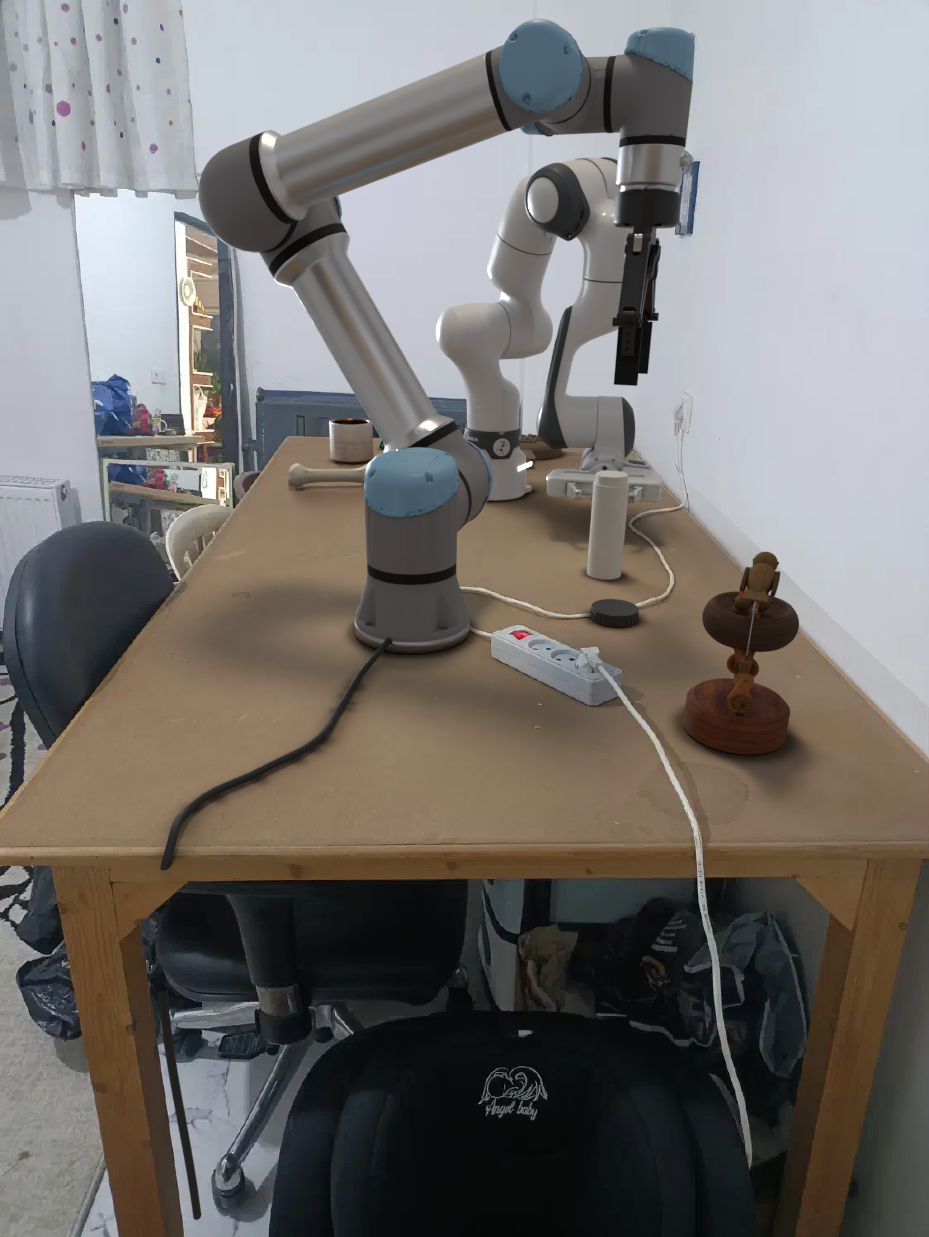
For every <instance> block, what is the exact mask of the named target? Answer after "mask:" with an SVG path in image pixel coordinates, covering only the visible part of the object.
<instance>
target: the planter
mask: <svg viewBox="0 0 929 1237" xmlns="http://www.w3.org/2000/svg"><path fill="white" fill-rule="evenodd" d="M328 424H329V425H328V426H329V453H330V454H329V455H330V456H329V457H330V459H331V460H332V461H333V462H335V463H341V464H363V463H367V462H368V463H369V462H370V461H371V460H372V459H373V458H375V455H374V452H375V451H374V450H375V449H374V430H373V429H374V426H373V424H372V422H371V421H370V419H369V418H362V417H361V418H360V417H342V418H341V417H340V418H335V419H334V418H333V419H331V420H329V421H328Z"/></svg>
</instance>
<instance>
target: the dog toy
mask: <svg viewBox="0 0 929 1237" xmlns="http://www.w3.org/2000/svg"><path fill="white" fill-rule="evenodd" d="M368 464H369V462H368V463H366V464H364V465H363V466H361V467H357V468H323V469H322V468H319V469H318V468H317V469H316V468H308V467H305V466H304V465H302V464H301V463H298V462H297V463H296V462H295V463H294V464H293V463H292V464H291V465H290V467H289V469H288V471H287V472H288V473H287V474H288V476H287V478H286V479H287V483H288V486H289V487H294V488H300V487H302V486H305V485H308V484H316V483H355V484H363V485H364V483H365V471H366V467H367V465H368Z"/></svg>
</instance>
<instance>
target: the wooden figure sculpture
mask: <svg viewBox="0 0 929 1237" xmlns="http://www.w3.org/2000/svg"><path fill="white" fill-rule="evenodd" d="M778 560H779V559H777V556H776V555H775V554H774V553H773V552H770V551H761V552H758V553H757V554H756V555H755V556H754V557H753V558H752V566H751V567H750V566H745V568H744V572H743V574H742V578H741V581H740V585H739V588H738V589H739V590H738V591H737V590H735V591H734V590H733V591H726V592H722V593H718V594H716V595H714V596H712V598H710V599H709V600H708V602H707V603H706V604H705V606H704V608H703V610H702V614H701V615H702V617H701V619H702V620H701V621H702V625H703V628H704V630H705V632H706V633H707V634H708V635H709V637H711V639H712V640H714V641H716V642H717V643H719V644H721V645H722V646H725V647H728V648H731V649H733V652H734V653H732V654H730V655H729V656H728V657H727V659H726V668H727V670H728V671H729V672H730V673H732V674H733V678H729V677H728V678H727V677H724V678H723V677H721V678H719V677H718V678H710V679H706V680H703V681H701V682H699V683H697V684H696V685H694V686H692V687H691V688H690V689H689V690H687V693H686V698H685V705H684V713H683V720H682V722H683V723H682V724H683V727H684V729H685V731H686V732H687V733H688V734H689V735H690V737H692V738H693V739H695V740H696V741H697V742H699V743H701V744H703V745H705V746H707V747H709V748H712V749H715V750H719V751H721V752H725V753H726V752H727V753H730V754H738V755H761V754H762V755H763V754H767V753H771V752H773V751H777V750H778V749H780V748H781V747H782V746H783V745H784V743H785V742H786V738H787V732H788V727H789V722H790V717H791V716H790V715H791V708H790V706H789V704H788V703H787V701H785V699H784V698H783V697H782V696H781V695H780V694H779V693H777V692H776V691H774V690H773V689H771V688H769V687H767V686H765V685H763V684H760V683H758V682H755V679H754V678H756V677H757V675H758V674H759V672H760V666H759V663H758V661H757V660H756V659H755V658H754V657H755V655H756V653H768V652H774V651H778V650H782V649H783V648H785V647H786V646H788V645H790V644H791V642H793V641H794V639H795V638H796V637H797V634H798V633H799V629H800V619H799V616H798V613H797V611H796V610H795V608H794V607H793V606H792V605H791V604H790V603H789V602H787V601H786V600H784V599H781V598H779V597H776V594H777V591H778V588H779V583H780V579H781V571H778V570H777V569H778V566H779V565H780V561H778Z"/></svg>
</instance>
